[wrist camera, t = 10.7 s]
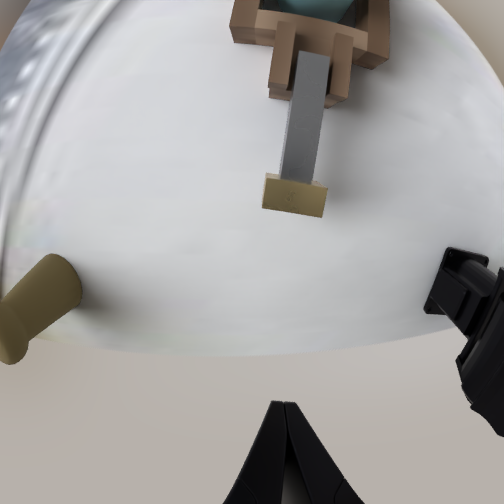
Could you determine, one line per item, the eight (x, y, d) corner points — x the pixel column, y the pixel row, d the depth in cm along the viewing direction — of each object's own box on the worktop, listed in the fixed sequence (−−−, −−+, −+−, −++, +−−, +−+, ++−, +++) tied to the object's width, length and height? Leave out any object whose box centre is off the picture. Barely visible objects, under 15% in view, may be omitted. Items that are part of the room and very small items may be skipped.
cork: (91, 288, 22) (21, 363, 12) (68, 317, 24) (11, 383, 13) (52, 241, 20) (-30, 296, 10) (34, 275, 22) (-32, 330, 12)
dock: (374, -20, 11) (392, -45, 7) (366, 118, 16) (393, 112, 12) (253, -45, 11) (251, -75, 7) (225, 92, 16) (214, 76, 12)
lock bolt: (332, 71, 13) (346, 56, 10) (311, 205, 16) (321, 217, 13) (282, 61, 13) (286, 43, 10) (262, 197, 16) (261, 208, 13)
